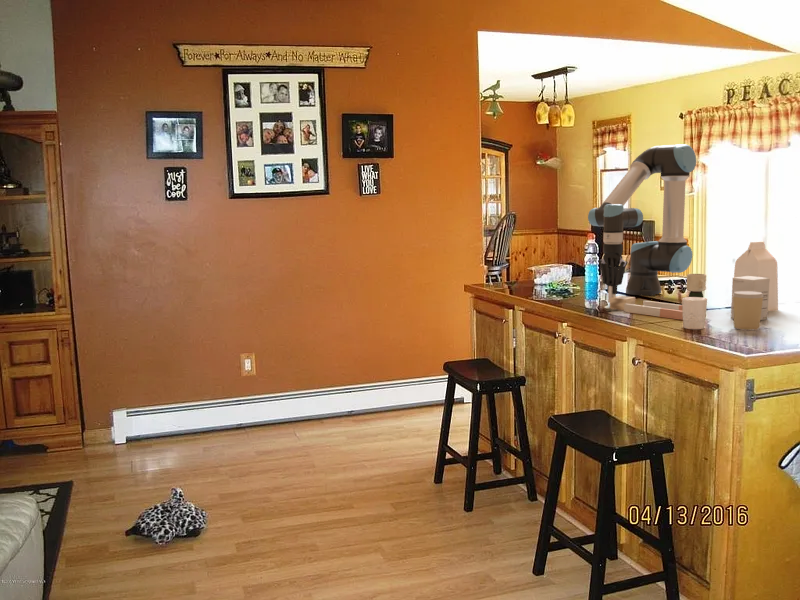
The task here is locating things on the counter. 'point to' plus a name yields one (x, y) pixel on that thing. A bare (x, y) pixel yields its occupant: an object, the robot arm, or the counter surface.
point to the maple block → (621, 302)
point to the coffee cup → (747, 309)
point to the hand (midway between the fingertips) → (611, 301)
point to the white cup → (694, 312)
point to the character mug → (696, 284)
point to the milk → (759, 269)
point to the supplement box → (752, 285)
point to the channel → (656, 309)
